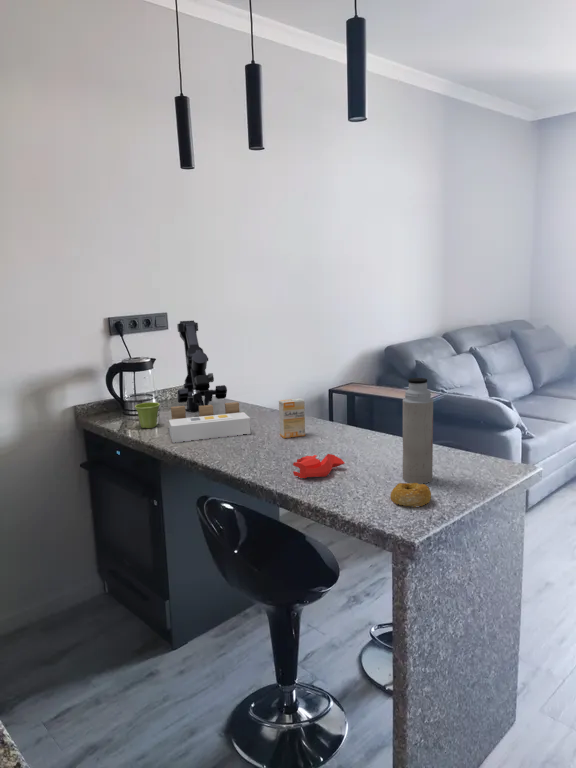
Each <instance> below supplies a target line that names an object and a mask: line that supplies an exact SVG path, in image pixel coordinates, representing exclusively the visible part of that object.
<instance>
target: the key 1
mask: <svg viewBox="0 0 576 768" xmlns="http://www.w3.org/2000/svg"><path fill="white" fill-rule="evenodd" d="M185 409H186V407H185V405H177V406H170V412H171V420H172V419H181V418H187V417H186V414H187V413H186V410H185Z"/></svg>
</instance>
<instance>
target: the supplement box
mask: <svg viewBox="0 0 576 768" xmlns="http://www.w3.org/2000/svg"><path fill="white" fill-rule="evenodd" d="M305 408H306V407H305V399H303V398H300V397H299V398H292V399H291V398H290V399H279V400H278V415H279V419H278V420H279V421H278V422H279V435H280V437H282V438H283V439H289V438H291V437H292V438H298V437H305V436H306V416H305V415H306V412H305V410H306V409H305Z"/></svg>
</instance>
